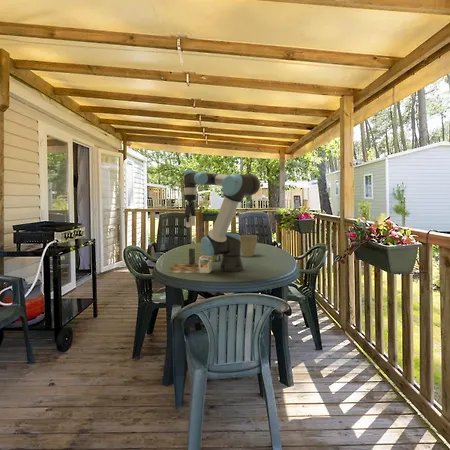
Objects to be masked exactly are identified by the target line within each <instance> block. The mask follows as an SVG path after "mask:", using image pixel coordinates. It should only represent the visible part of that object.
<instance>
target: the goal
mask: <svg viewBox="0 0 450 450" xmlns="http://www.w3.org/2000/svg"><path fill="white" fill-rule="evenodd" d="M205 257H208V258H205ZM209 258H211V256H205V255H201V256H200V257H198V265H199V268H200V273H199V274H210V273H211V272H212V271H213V261H212V260H210V261H207V264H206V265H207V266H208V268H207V267H201V265H203V266H204V265H205V263H204V262H205V260H209Z"/></svg>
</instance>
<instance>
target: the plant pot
mask: <svg viewBox="0 0 450 450" xmlns="http://www.w3.org/2000/svg"><path fill="white" fill-rule="evenodd" d="M239 235H240V234H239ZM240 240H241V245H240V252H241V254H242V256H243V257H245V258H251V257H253V256H254V253H255V250H256V247H257V242H258V241H257V240H258V235H255V234H241V235H240Z"/></svg>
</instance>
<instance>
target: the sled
mask: <svg viewBox="0 0 450 450" xmlns="http://www.w3.org/2000/svg"><path fill="white" fill-rule="evenodd" d="M195 250H196V248H189V249H188V263H187V264H188V267H196V265H197V262H196V251H195Z"/></svg>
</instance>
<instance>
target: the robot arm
mask: <svg viewBox="0 0 450 450" xmlns="http://www.w3.org/2000/svg"><path fill="white" fill-rule="evenodd" d="M196 185H197V186H200V185H201V186H202V185H204V186H206V185H207V186H209V185H211V186H218V187H222V188H221V190H222V195H223V197H224V198H223V201H222V203H221V206H220V208H219V211H218V214H217V217H216V219H215V221H214V224H213V226H212V229H211V230H209V231H208V233H207V235H206V236H203V237H202V238H201V240H200V248H201V251H202V253H203V254H204V256H205V255H207V256H214V255H220V256H222V257H221V259H220V260H221V261H220V264H219V271H221V272H240V271H244V265H243V260H242V257H241V254H242V251H241V248H240V245H241V240H240V234H239V233H232V232H231V233H230V232H228V231H229V227H230V225H231V222H232V220H233V218H234V215H235V213H236V211H237V209H238V206H239V203H241V202H243V200H244V199H245V196H254V195H256V194H257V193H258V192H259V190H260V188H261V181H260V179H259V178H258V177H257V176H255V175H254V174H240V173H230V174H223V173H217V172H216V173H215V172H214V173H212V172H210V173H209V172H199V171H198V172H196V170H189V169H188V170H184V171H183V187H184V188H183V193H184V196H183V197H184V199H183V200H184V201H185V209H184V210H185V211H184V216H183V217H184V218H185V227H186V228H191V227H194V226H195V227H196V216H197V213H196V207H195V201H196V200H197V195H196V194H197V192H196V191H197V189H196V187H197V186H196Z"/></svg>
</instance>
